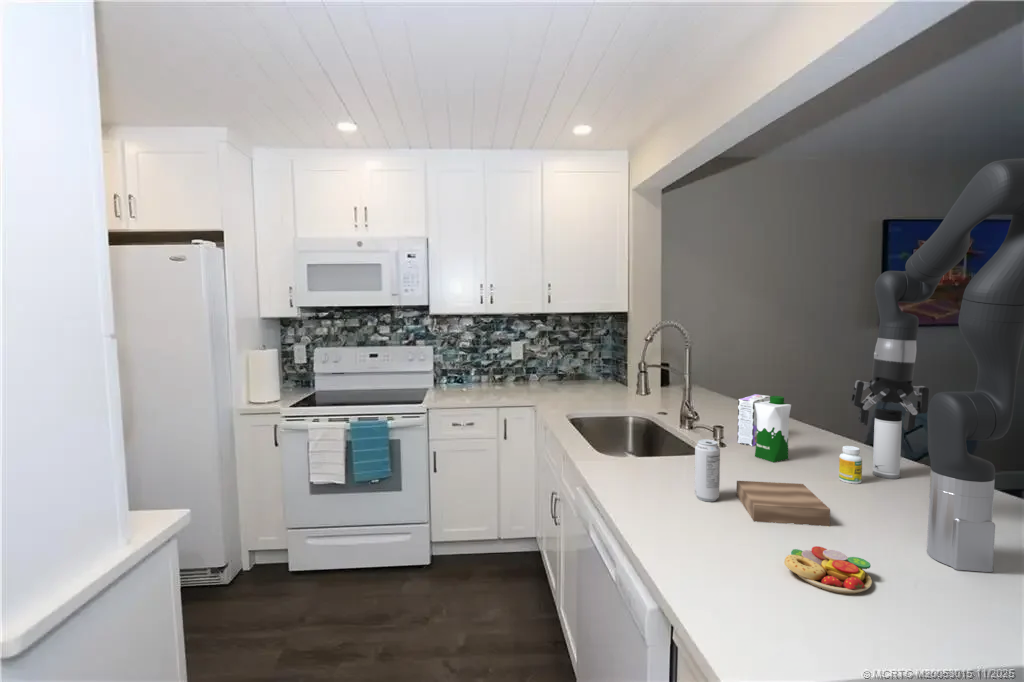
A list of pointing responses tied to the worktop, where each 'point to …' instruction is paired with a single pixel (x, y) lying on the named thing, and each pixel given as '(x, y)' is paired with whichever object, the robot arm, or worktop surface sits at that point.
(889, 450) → the travel mug
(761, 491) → the walnut base
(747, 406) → the candy box
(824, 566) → the toy food set
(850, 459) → the supplement bottle
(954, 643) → the worktop surface
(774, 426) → the milk carton
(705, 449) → the energy drink can
